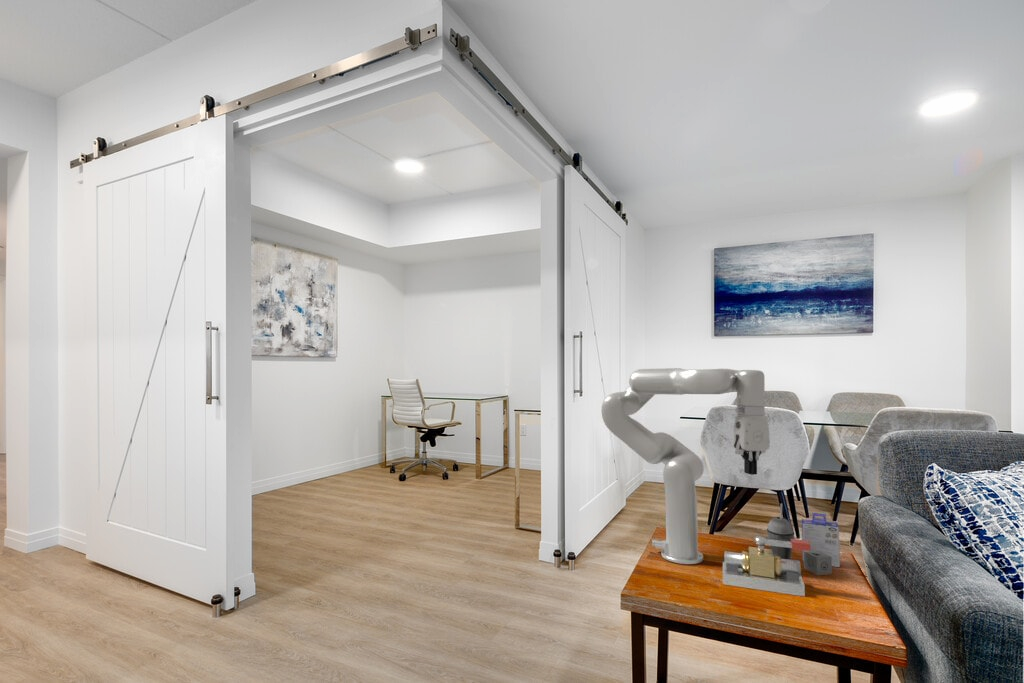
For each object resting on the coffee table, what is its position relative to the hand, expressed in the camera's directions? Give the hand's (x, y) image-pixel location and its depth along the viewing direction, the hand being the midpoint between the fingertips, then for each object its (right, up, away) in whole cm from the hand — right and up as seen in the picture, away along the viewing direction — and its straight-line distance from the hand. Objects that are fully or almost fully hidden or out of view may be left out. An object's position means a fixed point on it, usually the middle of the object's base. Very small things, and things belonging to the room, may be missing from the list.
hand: (750, 473), depth 152 cm
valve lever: (+4, -17, -10) cm, 21 cm away
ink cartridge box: (+25, -29, +6) cm, 39 cm away
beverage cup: (+9, -29, 0) cm, 30 cm away
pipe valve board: (-1, -28, -9) cm, 30 cm away
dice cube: (+20, -29, 0) cm, 35 cm away
